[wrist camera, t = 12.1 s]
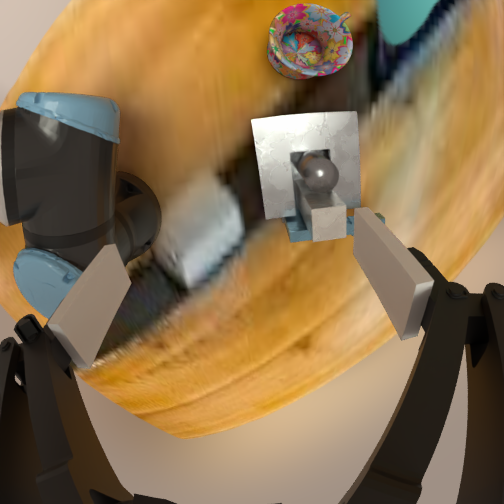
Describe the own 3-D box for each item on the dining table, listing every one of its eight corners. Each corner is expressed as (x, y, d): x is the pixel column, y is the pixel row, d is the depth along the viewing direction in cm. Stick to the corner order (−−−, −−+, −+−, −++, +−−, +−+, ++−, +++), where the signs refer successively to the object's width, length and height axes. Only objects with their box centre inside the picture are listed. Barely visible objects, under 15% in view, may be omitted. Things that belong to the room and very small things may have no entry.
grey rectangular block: (296, 204, 42) (313, 241, 32) (294, 179, 40) (311, 209, 30) (322, 201, 42) (346, 237, 31) (320, 176, 40) (346, 205, 29)
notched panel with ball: (266, 221, 45) (271, 256, 35) (250, 118, 37) (251, 122, 27) (362, 209, 44) (390, 239, 34) (358, 109, 36) (392, 114, 26)
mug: (295, 94, 35) (311, 91, 26) (249, 51, 32) (250, 33, 23) (352, 50, 31) (383, 37, 22) (309, 6, 28) (328, -19, 18)
